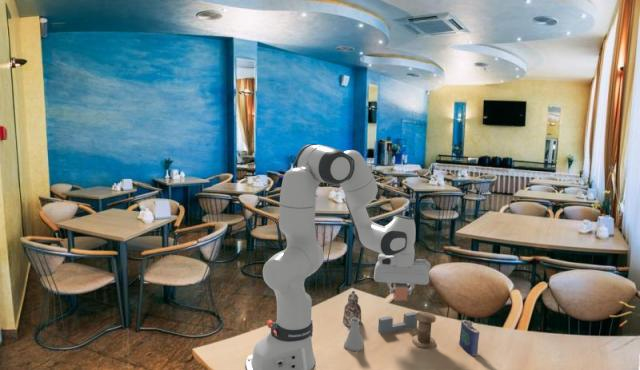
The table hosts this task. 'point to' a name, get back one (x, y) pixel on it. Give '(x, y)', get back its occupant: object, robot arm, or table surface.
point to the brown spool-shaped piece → (424, 330)
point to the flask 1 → (354, 337)
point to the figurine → (352, 309)
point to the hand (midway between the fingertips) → (400, 293)
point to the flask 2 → (469, 338)
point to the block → (400, 291)
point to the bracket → (388, 326)
